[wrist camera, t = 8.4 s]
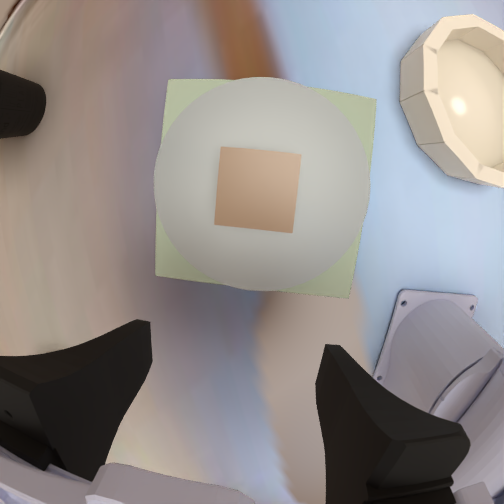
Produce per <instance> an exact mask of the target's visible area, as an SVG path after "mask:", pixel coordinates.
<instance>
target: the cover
mask: <svg viewBox="0 0 504 504" xmlns="http://www.w3.org/2000/svg"><path fill="white" fill-rule="evenodd" d="M154 196H155V203H156V207H157V211H158V215H159V218H160V221H161V223H162V225H163V228H164V230H165V232H166V234H167V236H168V237H169V239H170V241H171V242H172V244H173V245H174V246H175V248H176V249H177V250H178V252H179V253H180V254H181V255H182V256H183V257H184V258H185V259H186V260H187V261H188V262H189V263H190V264H191V265H192V266H194V267H195V268H196V269H197V270H199V271H200V272H202V273H203V274H205V275H206V276H208V277H210V278H211V279H214V280H216V281H218V282H220V283H222V284H225V285H228V286H232V287H235V288H239V289H245V290H251V291H273V290H281V289H286V288H291V287H294V286H297V285H300V284H303V283H305V282H307V281H309V280H311V279H313V278H315V277H317V276H319V275H320V274H322V273H323V272H325V271H326V270H328V269H329V268H330V267H331V266H333V265H334V264H335V263H336V262H337V261H338V260H339V259H340V258H341V257H342V256H343V255H344V254H345V253H346V251H347V250H348V249H349V247H350V246H351V245H352V243H353V242H354V240H355V239H356V237H357V235H358V233H359V231H360V229H361V227H362V224H363V222H364V219H365V216H366V213H367V208H368V203H369V197H370V171H369V166H368V161H367V156H366V154H365V151H364V148H363V145H362V142H361V140H360V138H359V136H358V134H357V132H356V131H355V129H354V128H353V126H352V125H351V123H350V122H349V120H348V119H347V118H346V116H345V115H344V114H343V113H342V112H341V111H340V110H339V109H338V108H337V107H336V106H335V105H334V104H333V103H331V102H330V101H329V100H328V99H327V98H325V97H324V96H322V95H320V94H319V93H317V92H316V91H314V90H312V89H310V88H308V87H306V86H303V85H301V84H298V83H295V82H292V81H288V80H284V79H278V78H272V77H253V78H244V79H239V80H235V81H231V82H227V83H225V84H222V85H220V86H217V87H215V88H213V89H211V90H209V91H208V92H206V93H204V94H202V95H201V96H199V97H198V98H197V99H195V100H194V101H193V102H192V103H190V104H189V105H188V106H187V107H186V108H185V109H184V110H183V111H182V112H181V113H180V114H179V116H178V117H177V118H176V119H175V121H174V122H173V123H172V125H171V126H170V128H169V130H168V132H167V133H166V135H165V137H164V139H163V142H162V144H161V146H160V149H159V152H158V156H157V160H156V164H155V172H154Z"/></svg>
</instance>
